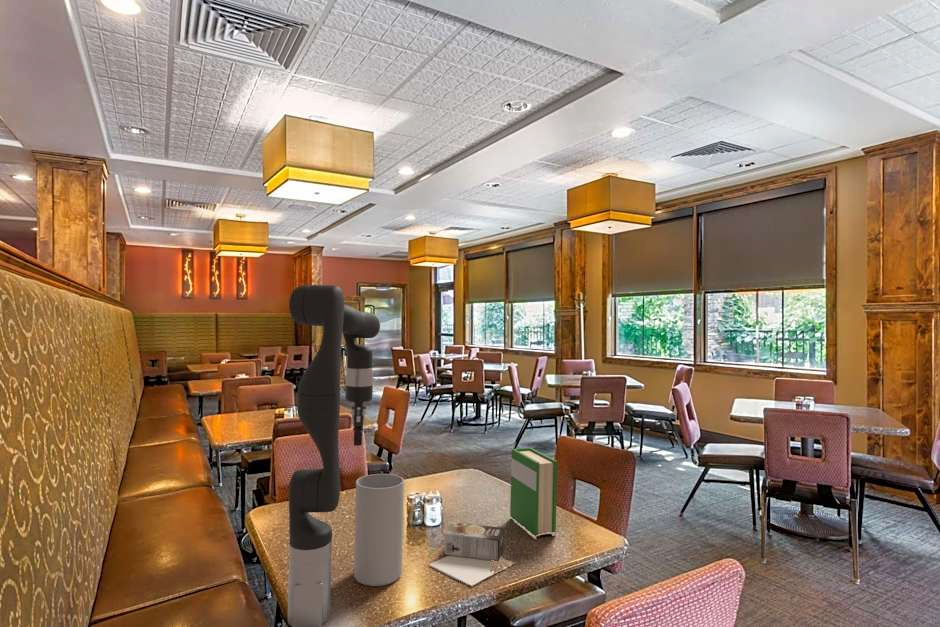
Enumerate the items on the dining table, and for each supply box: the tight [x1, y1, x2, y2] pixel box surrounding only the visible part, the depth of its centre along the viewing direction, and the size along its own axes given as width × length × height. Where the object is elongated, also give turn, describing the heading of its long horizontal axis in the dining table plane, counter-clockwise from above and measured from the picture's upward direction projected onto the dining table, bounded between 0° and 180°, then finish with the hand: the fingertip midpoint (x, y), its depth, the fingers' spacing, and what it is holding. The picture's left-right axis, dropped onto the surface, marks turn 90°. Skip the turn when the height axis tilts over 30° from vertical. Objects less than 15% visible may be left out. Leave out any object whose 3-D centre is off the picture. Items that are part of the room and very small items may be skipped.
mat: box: [428, 555, 500, 586], centre depth 145 cm, size 16×18×1 cm
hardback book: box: [509, 447, 558, 536], centre depth 172 cm, size 18×7×24 cm, turn 22°
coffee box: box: [443, 521, 505, 561], centre depth 152 cm, size 9×6×16 cm
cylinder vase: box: [353, 473, 405, 587], centre depth 138 cm, size 12×12×25 cm
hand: (357, 444), depth 148 cm, fingers closed
